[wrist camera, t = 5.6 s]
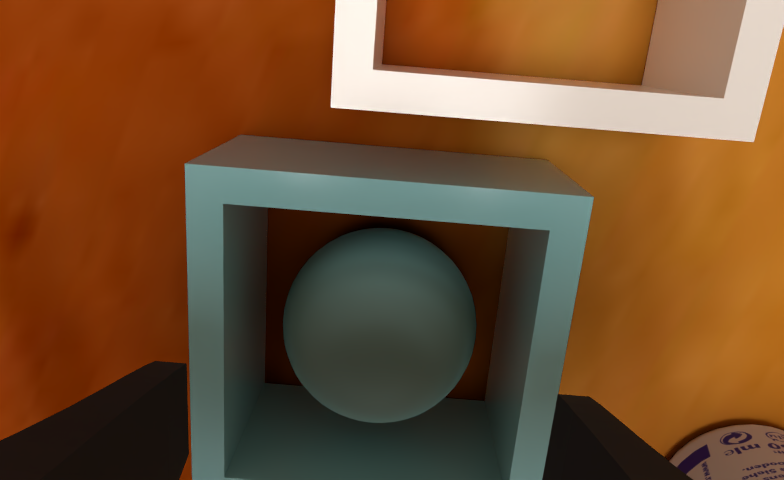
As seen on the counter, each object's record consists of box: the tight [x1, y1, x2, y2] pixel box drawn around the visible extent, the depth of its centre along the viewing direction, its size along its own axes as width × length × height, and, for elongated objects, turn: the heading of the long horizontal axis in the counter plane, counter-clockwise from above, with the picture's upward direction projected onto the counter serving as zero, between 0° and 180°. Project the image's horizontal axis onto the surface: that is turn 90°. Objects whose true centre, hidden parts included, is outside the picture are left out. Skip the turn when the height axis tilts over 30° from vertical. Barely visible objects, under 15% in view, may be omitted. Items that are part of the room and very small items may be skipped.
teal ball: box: [283, 228, 476, 423], centre depth 16 cm, size 5×5×5 cm
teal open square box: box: [185, 135, 594, 480], centre depth 16 cm, size 9×9×4 cm
